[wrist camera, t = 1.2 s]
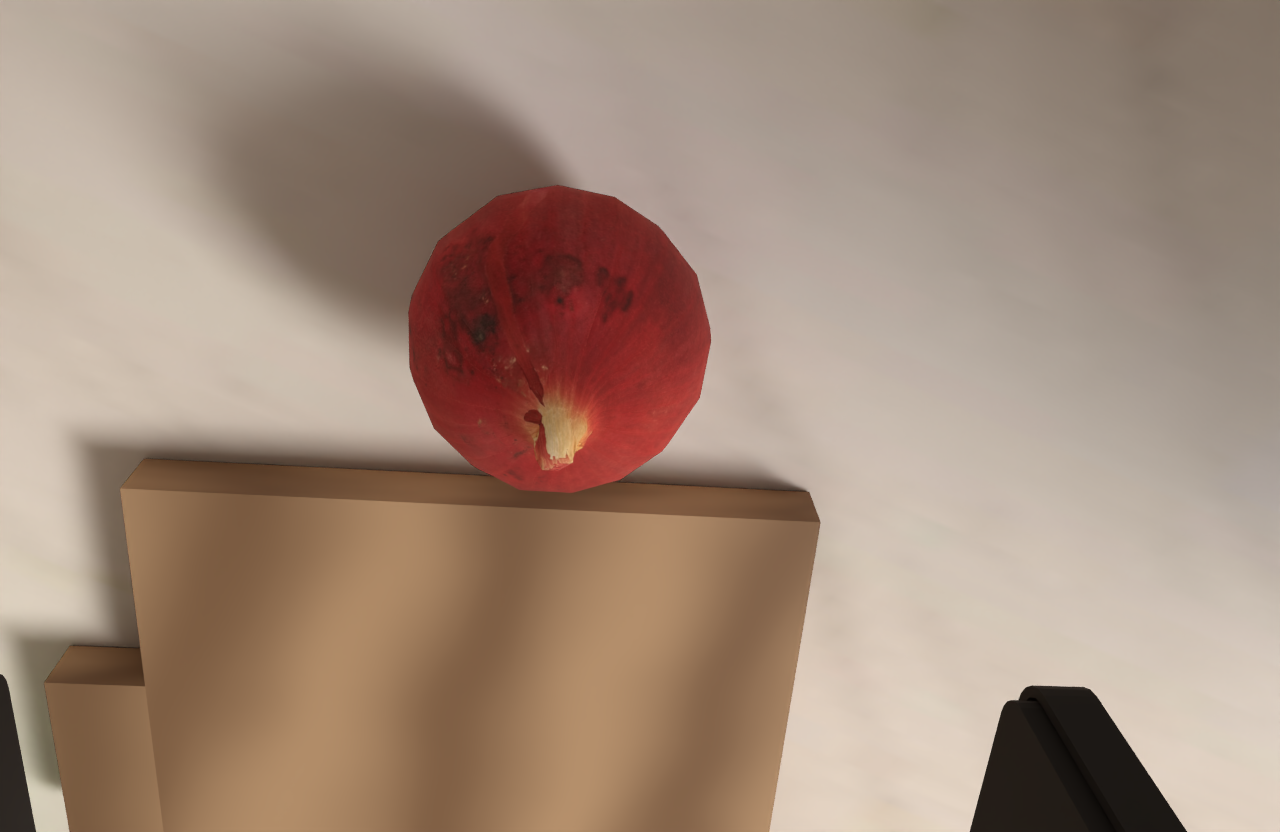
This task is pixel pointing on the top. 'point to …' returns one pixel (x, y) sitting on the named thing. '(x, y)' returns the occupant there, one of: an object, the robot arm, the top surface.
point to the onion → (557, 339)
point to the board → (438, 656)
